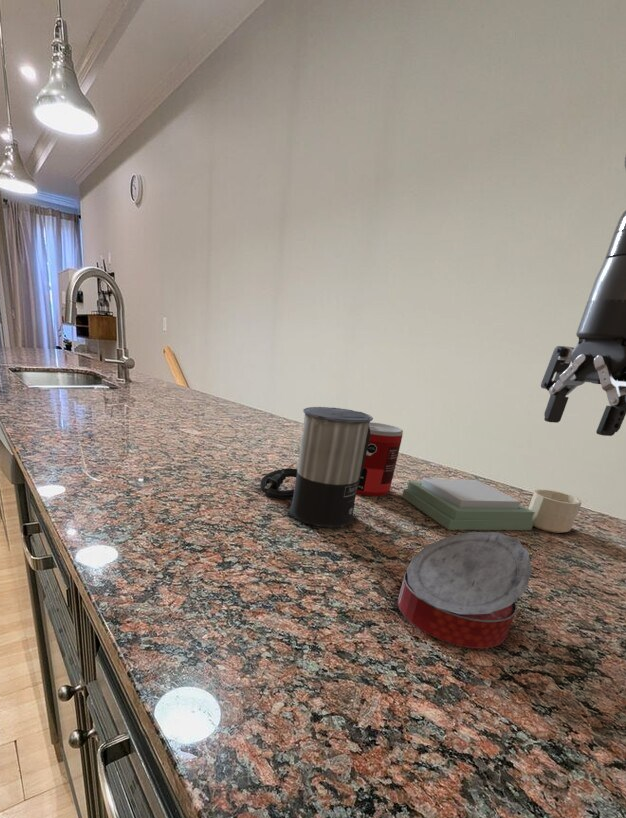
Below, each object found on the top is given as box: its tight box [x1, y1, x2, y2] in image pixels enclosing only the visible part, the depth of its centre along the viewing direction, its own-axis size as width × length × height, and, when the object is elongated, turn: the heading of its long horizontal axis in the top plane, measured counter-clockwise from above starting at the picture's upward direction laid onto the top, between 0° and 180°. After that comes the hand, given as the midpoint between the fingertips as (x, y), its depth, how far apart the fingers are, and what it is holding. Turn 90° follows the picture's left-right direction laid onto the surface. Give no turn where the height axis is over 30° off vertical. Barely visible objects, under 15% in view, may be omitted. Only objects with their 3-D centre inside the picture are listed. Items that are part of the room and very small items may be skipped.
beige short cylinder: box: [527, 489, 582, 534], centre depth 67 cm, size 6×6×5 cm
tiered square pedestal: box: [421, 477, 521, 509], centre depth 69 cm, size 10×10×2 cm
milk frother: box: [259, 406, 374, 529], centre depth 64 cm, size 14×16×15 cm
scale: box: [401, 480, 534, 531], centre depth 70 cm, size 14×13×3 cm
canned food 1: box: [356, 421, 404, 497], centre depth 75 cm, size 8×8×11 cm
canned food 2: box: [397, 531, 533, 649], centre depth 42 cm, size 11×10×10 cm
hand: (576, 428), depth 62 cm, fingers open, 8 cm apart
